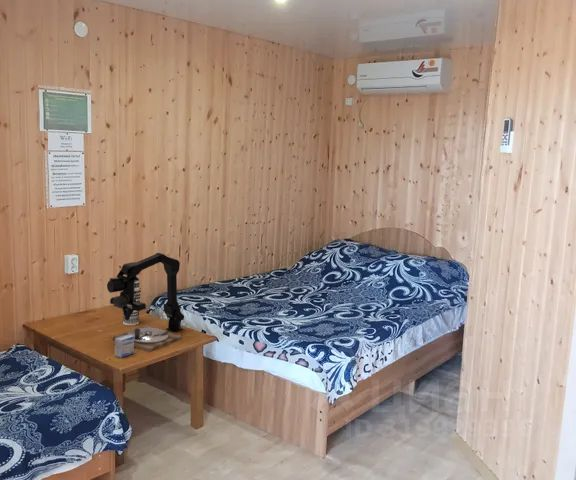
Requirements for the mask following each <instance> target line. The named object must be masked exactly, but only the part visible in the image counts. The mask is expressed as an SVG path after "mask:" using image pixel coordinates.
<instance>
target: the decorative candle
mask: <svg viewBox="0 0 576 480" xmlns="http://www.w3.org/2000/svg"><path fill="white" fill-rule="evenodd" d="M140 282H141V280H140V279H139V280H137V281H135V291H136V294H134V299H136V302H134V303H138V302H141V300H140V299H141V292H142V291H141V290H142V288H141V286H140ZM122 315H123V316H122V321H123V322H122V323H123V325H125V326H137V325H139V321H140V311H135V310H134V311H133V313H132V314H131V316H130V318H129V320H126V319H125V316H124V313H122ZM136 324H137V325H136Z"/></svg>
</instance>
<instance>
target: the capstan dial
mask: <svg viewBox="0 0 576 480" xmlns="http://www.w3.org/2000/svg"><path fill="white" fill-rule="evenodd" d="M138 328H139V329H138ZM138 328H135V329H132V330H129V331H130V332H129V331H128V332H129V333H128V335H132V336H134V342H138V343H158V342H162V341H164V340H166V339H167V338H168V333H167V332H168V331H167V330H164V329H161V328H157V327H155V328H141V327H138ZM166 331H167V332H166Z"/></svg>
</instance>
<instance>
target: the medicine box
mask: <svg viewBox="0 0 576 480" xmlns="http://www.w3.org/2000/svg"><path fill="white" fill-rule="evenodd" d="M134 349H135V347H134V336H132V335H125V336H122V337H118V338H115V340H114V356H115V357H118V358H121V359H122V357H123V358H125V357H128V356H130V355H134Z"/></svg>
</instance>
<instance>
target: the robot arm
mask: <svg viewBox="0 0 576 480" xmlns="http://www.w3.org/2000/svg"><path fill="white" fill-rule="evenodd" d="M159 263H161V264H162V265H163V268H164V272H165V274H166V285H167V286H166V287H167V289H166V292H167V293H166V295H167V299H166V303H164V304H163V312H164V314H165V316H166V317H167V318H169V319H168V327H167V328H165V329H166V330H165V331H171V332H172V333H177V332H180V331H181V330H183V328H182V326H181V325H182V321H183V320H184V319H185V315H184V314H183V313H182V311H181V307H180V303H179V302H178V288H177V287H178V286H177V285H178V283H177V281H178V280H177V279H178V278H177V275H178V274H179V272H180V266H181V262H180V260H178V259H176V258H174V257H171V256H167V255H166V254H164V253H161V252H156V253H155V254H152V255H151V256H149V257H145V258H143V259H141V260H138V261H135V262H127V263H124V264H123V265H122V267H121V269H120V270H119V272H118V273H117V275H116V277H111V278H109V281H107V284H106V288H107V289H106V290H107V291H108V293H110V294H111V293H118V292H119V295H117V296H113V297H111V298H110V300H109V304H110V305H113V306H114V307H115V308H119V309H121V310H122V312H123V313H124V315H123V316H125V319H126V320H129V318H130V316H131V314H132V313H133V311H134V310H135V311H139V312H140V311H143V310H147V304H145V303H144V302H141V301H140V302H138V303H134V302H136V299H134V294H136V291H135V281H137V280H139V281H140V279H139V278H138V277H137V276H138V275H139V274H141V272H142V271H144V270H146V269H148V268H151V267H153V266H154V265H157V264H159ZM123 313H122V314H123Z"/></svg>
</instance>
